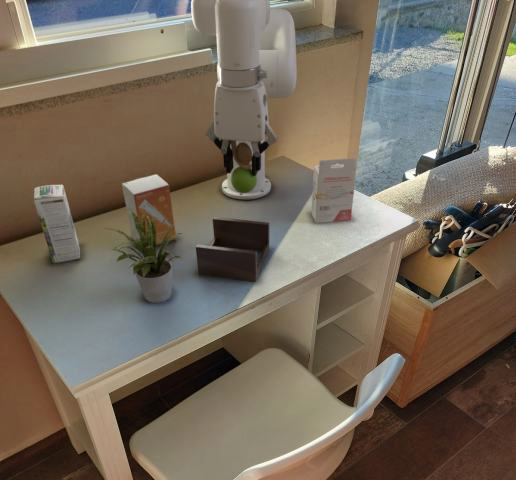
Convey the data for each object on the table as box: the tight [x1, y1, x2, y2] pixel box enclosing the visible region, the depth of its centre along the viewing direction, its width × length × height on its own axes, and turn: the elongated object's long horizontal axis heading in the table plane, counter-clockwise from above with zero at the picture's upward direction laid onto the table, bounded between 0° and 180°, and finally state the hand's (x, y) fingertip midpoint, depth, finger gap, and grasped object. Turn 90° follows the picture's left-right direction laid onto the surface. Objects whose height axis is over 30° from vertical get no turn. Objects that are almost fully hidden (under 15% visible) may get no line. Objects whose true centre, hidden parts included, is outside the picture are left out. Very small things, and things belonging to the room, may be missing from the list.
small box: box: [121, 173, 177, 246], centre depth 110 cm, size 8×6×13 cm
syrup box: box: [33, 184, 81, 264], centre depth 105 cm, size 6×6×14 cm
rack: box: [195, 216, 270, 283], centre depth 105 cm, size 12×12×6 cm
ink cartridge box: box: [311, 157, 357, 224], centre depth 116 cm, size 9×5×15 cm, turn 97°
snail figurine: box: [231, 140, 257, 193], centre depth 105 cm, size 5×6×12 cm
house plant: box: [102, 209, 184, 304], centre depth 94 cm, size 14×14×16 cm
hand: (242, 171), depth 106 cm, fingers closed on snail figurine, 4 cm apart
